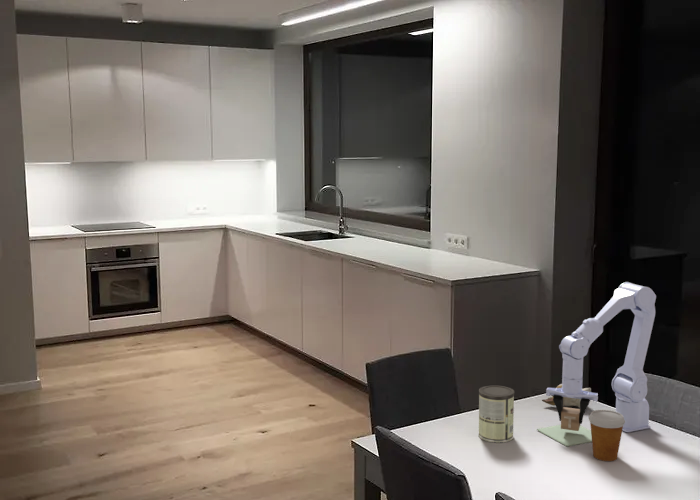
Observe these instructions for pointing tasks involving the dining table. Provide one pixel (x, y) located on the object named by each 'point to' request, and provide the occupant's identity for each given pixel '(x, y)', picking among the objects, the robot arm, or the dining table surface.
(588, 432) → the mat
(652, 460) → the dining table surface
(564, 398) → the ceramic sculpture
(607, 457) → the disposable coffee cup
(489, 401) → the coffee can
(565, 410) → the letter cube
